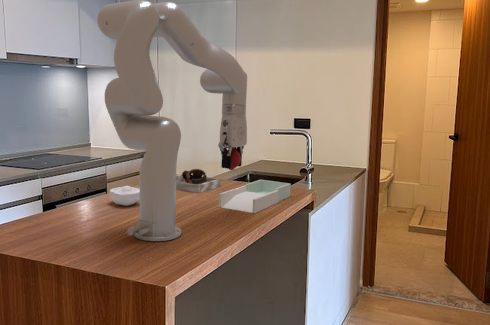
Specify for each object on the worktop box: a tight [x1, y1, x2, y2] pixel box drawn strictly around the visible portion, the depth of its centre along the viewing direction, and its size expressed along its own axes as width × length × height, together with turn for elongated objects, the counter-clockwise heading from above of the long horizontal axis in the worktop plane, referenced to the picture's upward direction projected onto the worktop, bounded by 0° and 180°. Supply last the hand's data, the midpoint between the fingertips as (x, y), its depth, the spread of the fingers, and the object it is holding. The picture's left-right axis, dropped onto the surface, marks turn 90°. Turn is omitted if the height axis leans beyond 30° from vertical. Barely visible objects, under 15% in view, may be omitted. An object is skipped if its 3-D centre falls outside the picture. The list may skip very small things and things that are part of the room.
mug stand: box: [176, 173, 222, 194], centre depth 188 cm, size 17×19×3 cm
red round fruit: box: [229, 147, 241, 171], centre depth 147 cm, size 6×6×8 cm
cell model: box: [109, 185, 140, 207], centre depth 155 cm, size 10×12×7 cm
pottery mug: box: [181, 168, 208, 185], centre depth 189 cm, size 12×10×8 cm
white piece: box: [218, 185, 279, 214], centre depth 161 cm, size 18×14×6 cm
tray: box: [244, 179, 292, 203], centre depth 174 cm, size 12×13×5 cm
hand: (231, 166), depth 148 cm, fingers closed on red round fruit, 5 cm apart
